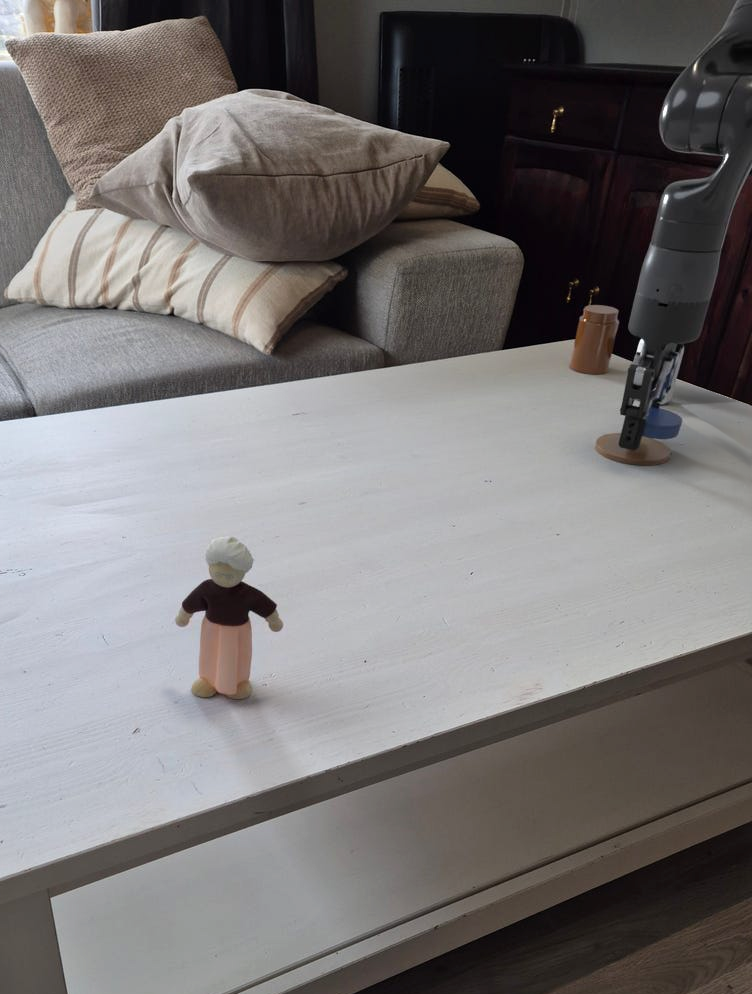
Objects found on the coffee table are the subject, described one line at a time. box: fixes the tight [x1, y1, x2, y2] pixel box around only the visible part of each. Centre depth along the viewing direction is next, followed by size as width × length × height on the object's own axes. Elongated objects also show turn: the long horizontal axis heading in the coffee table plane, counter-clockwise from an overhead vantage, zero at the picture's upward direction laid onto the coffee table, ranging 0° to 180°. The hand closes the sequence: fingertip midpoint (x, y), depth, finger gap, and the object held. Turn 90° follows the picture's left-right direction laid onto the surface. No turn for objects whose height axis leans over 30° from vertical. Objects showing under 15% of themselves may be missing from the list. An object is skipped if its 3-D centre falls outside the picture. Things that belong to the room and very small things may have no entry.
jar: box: [569, 304, 620, 375], centre depth 132 cm, size 5×5×8 cm
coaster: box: [594, 432, 671, 466], centre depth 109 cm, size 8×8×1 cm
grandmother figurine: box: [174, 536, 284, 700], centre depth 65 cm, size 8×4×13 cm, turn 96°
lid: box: [642, 407, 683, 440], centre depth 106 cm, size 6×6×2 cm
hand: (635, 439), depth 108 cm, fingers closed on lid, 5 cm apart
